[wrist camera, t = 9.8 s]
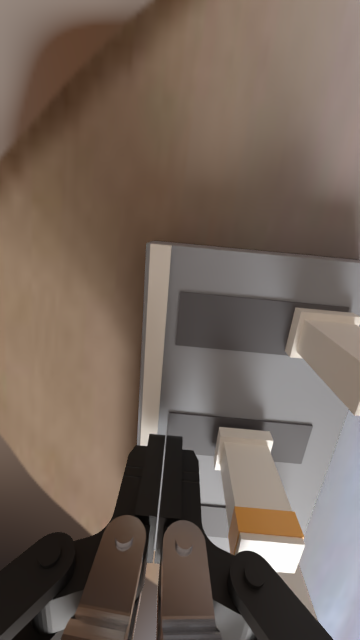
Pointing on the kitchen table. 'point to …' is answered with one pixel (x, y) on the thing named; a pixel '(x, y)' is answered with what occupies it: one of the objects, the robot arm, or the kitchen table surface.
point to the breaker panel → (250, 364)
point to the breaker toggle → (257, 499)
